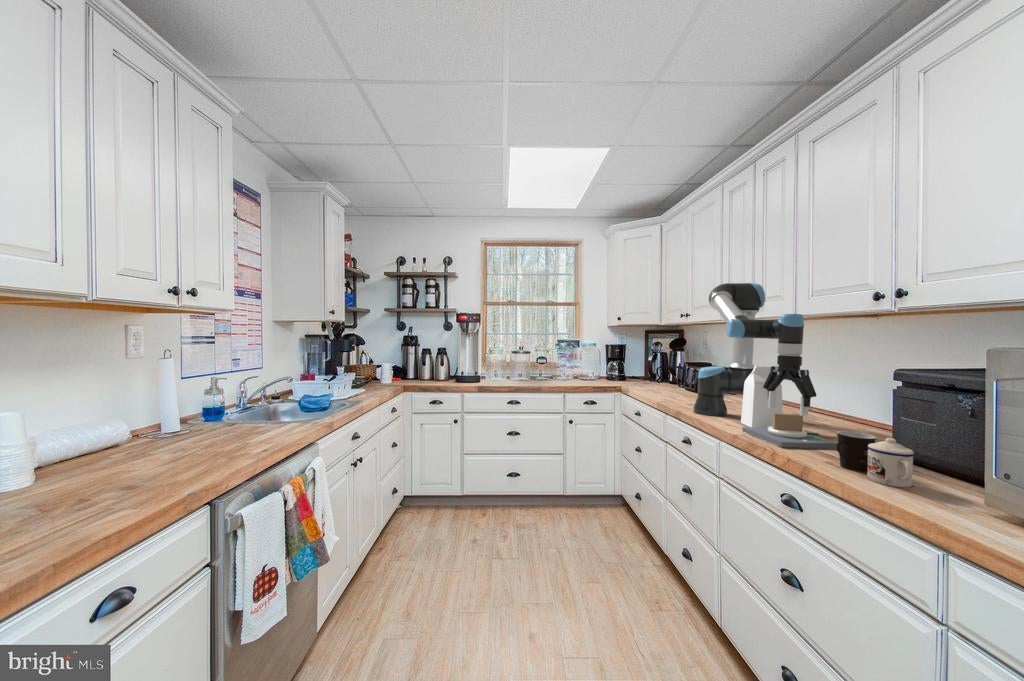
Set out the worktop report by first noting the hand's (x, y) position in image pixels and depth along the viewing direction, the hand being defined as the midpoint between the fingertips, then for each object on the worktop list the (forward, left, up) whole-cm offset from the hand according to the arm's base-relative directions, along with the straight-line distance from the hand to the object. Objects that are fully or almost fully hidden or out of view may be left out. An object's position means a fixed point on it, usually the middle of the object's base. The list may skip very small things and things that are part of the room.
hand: (787, 411), depth 146 cm
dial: (+1, +2, -8) cm, 9 cm away
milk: (-22, +5, -11) cm, 25 cm away
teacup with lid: (+43, -3, -11) cm, 45 cm away
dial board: (0, 0, -11) cm, 11 cm away
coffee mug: (+31, -4, -11) cm, 33 cm away
